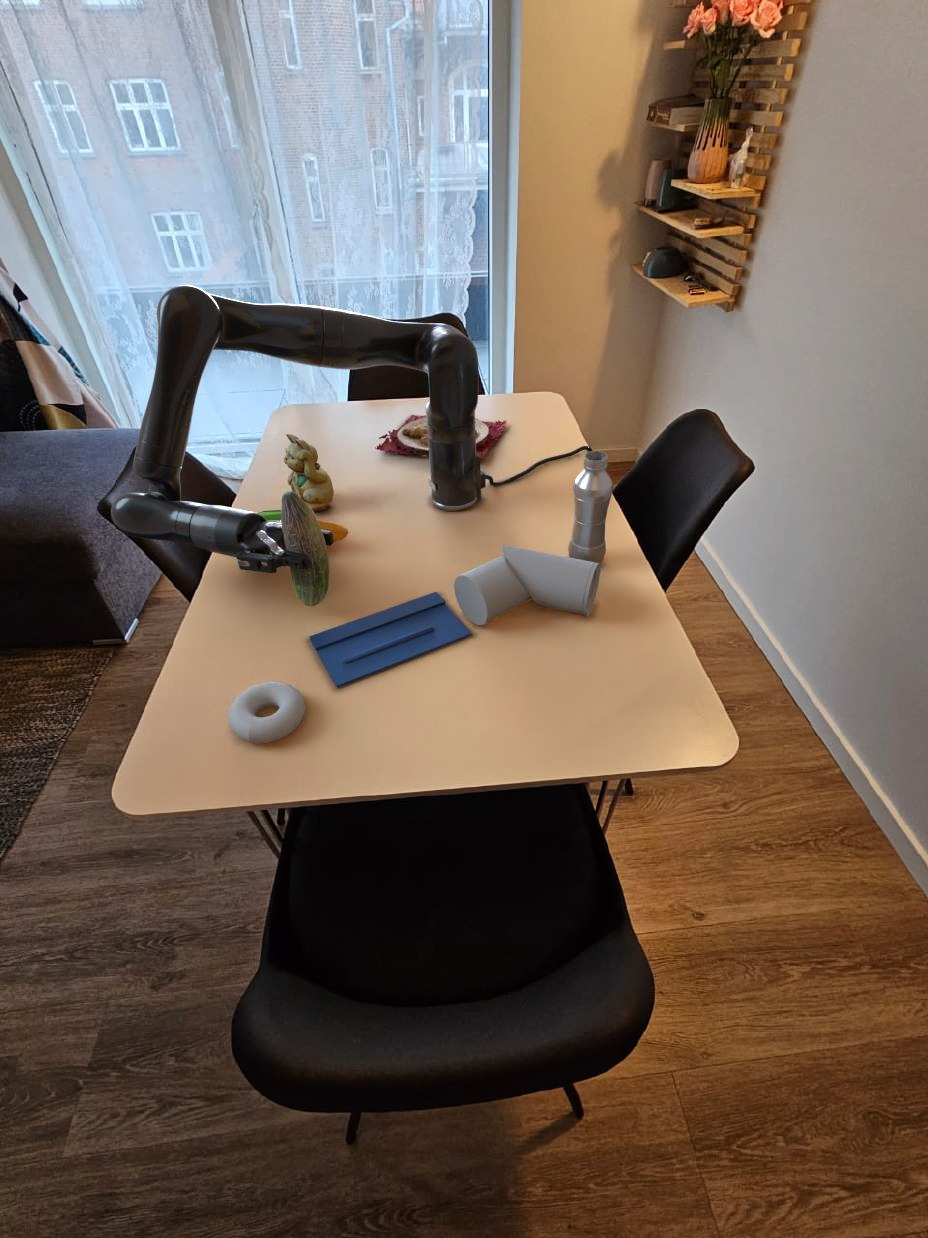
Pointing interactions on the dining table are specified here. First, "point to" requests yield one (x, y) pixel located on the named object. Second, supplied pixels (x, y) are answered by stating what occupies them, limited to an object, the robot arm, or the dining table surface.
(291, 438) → the decorative figurine
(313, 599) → the vegetable
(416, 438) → the plate with food
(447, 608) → the blue rectangular panel
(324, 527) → the corn
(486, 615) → the elbow connector
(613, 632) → the dining table surface
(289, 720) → the donut
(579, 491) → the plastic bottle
